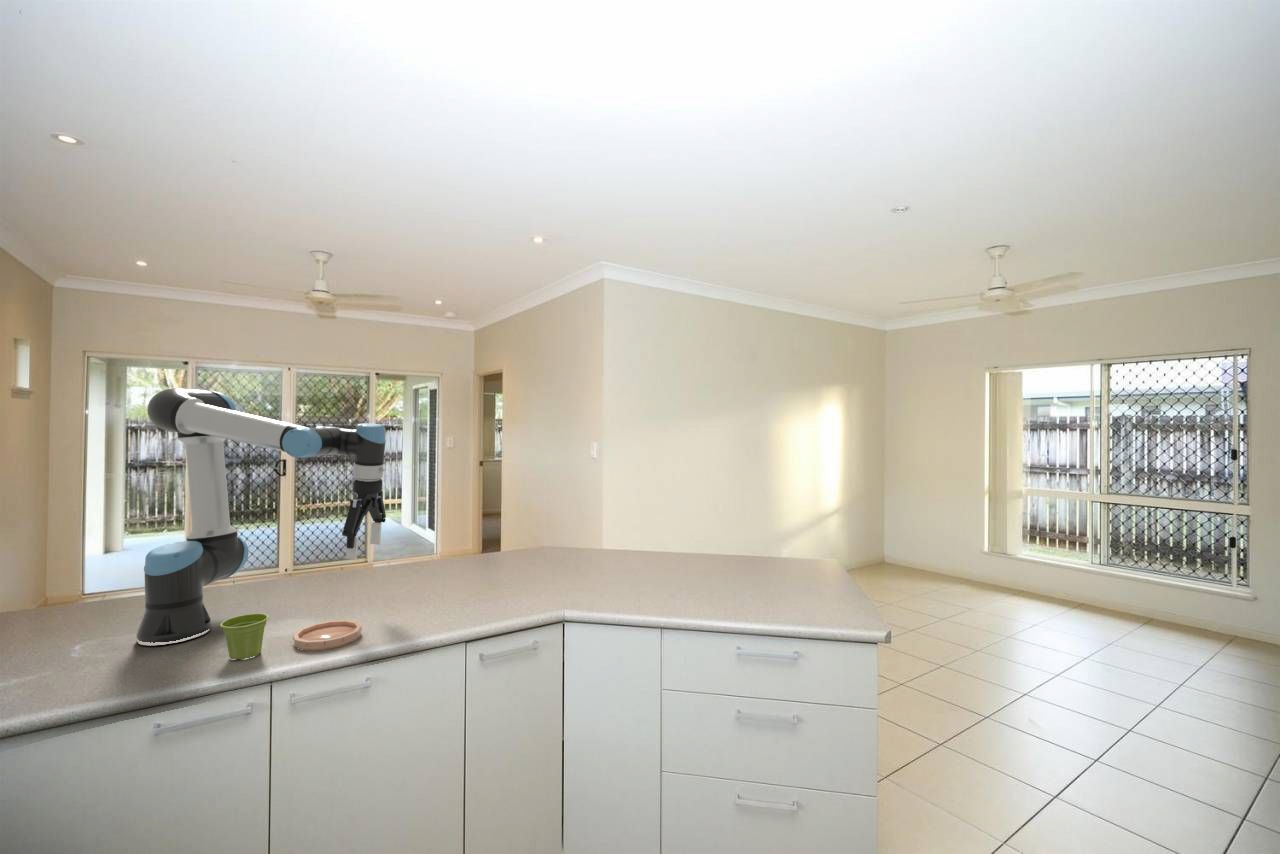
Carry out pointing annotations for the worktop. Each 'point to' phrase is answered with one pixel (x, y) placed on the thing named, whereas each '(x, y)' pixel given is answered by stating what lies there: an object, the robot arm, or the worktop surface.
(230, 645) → the plant pot
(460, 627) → the worktop surface
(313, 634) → the saucer
